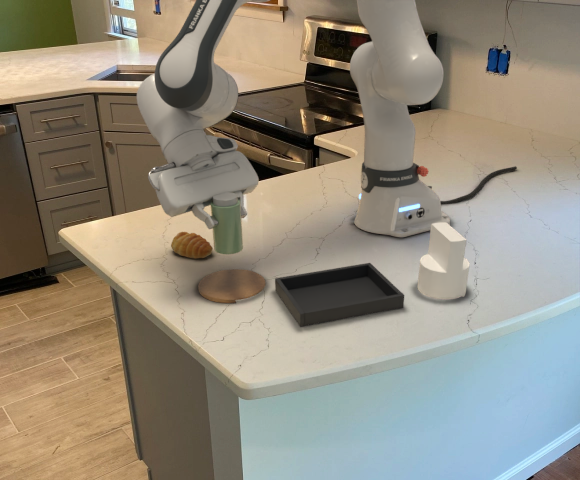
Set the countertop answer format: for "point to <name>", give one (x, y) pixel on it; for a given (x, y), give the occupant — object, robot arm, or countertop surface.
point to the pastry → (191, 245)
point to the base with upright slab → (444, 264)
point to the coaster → (231, 285)
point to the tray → (337, 294)
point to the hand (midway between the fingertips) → (229, 221)
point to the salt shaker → (227, 223)
